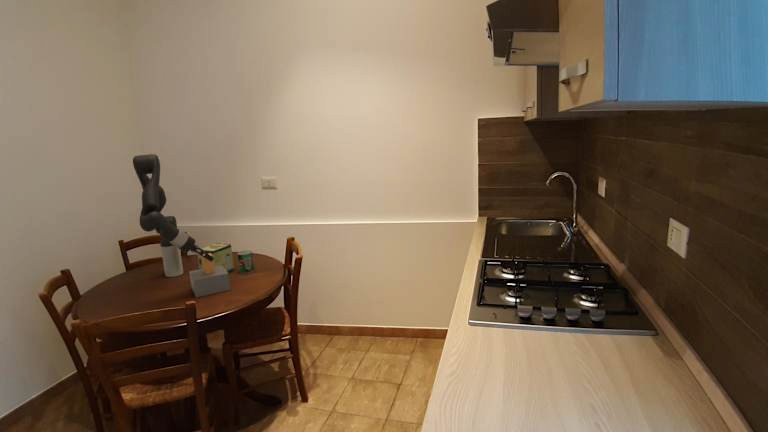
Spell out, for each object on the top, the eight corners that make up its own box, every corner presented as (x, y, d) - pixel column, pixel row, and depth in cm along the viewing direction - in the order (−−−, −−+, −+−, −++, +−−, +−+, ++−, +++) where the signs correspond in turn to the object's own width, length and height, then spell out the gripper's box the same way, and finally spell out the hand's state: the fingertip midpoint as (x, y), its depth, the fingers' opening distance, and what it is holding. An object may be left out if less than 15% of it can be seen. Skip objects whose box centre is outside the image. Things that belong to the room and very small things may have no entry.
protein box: (199, 277, 239) (196, 250, 236) (220, 268, 253) (216, 242, 250) (215, 279, 235) (211, 251, 232) (234, 270, 249) (231, 243, 246)
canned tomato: (257, 269, 248) (255, 251, 245) (247, 274, 241) (245, 255, 238) (246, 268, 251) (244, 250, 249) (236, 272, 244) (234, 253, 242)
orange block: (202, 272, 219) (200, 255, 218) (212, 270, 222) (209, 253, 220) (205, 274, 216) (203, 256, 214) (215, 272, 219) (212, 254, 217)
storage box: (191, 288, 224) (189, 271, 222) (224, 281, 232) (222, 265, 230) (196, 298, 210) (193, 280, 208) (230, 290, 218) (228, 273, 216)
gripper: (192, 236, 205) (219, 254, 215) (182, 232, 215) (208, 249, 225) (182, 250, 202) (210, 267, 212) (172, 245, 213) (199, 262, 223)
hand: (209, 258), depth 219 cm, fingers open, 8 cm apart
